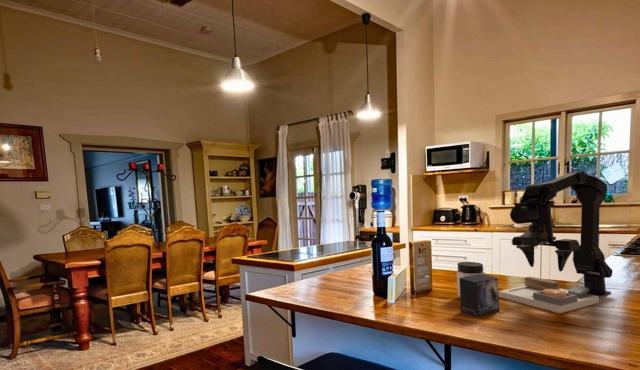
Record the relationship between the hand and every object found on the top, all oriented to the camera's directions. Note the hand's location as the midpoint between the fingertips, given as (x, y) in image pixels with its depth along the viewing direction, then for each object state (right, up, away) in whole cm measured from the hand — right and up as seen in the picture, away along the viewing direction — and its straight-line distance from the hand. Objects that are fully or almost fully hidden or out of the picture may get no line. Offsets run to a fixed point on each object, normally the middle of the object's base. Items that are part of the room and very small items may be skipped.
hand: (545, 268), depth 110 cm
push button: (-1, -8, -6) cm, 10 cm away
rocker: (+9, -7, -2) cm, 11 cm away
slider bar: (+3, -9, +7) cm, 11 cm away
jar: (-22, -12, +6) cm, 25 cm away
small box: (-25, -12, -7) cm, 29 cm away
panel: (+1, -11, +1) cm, 11 cm away
